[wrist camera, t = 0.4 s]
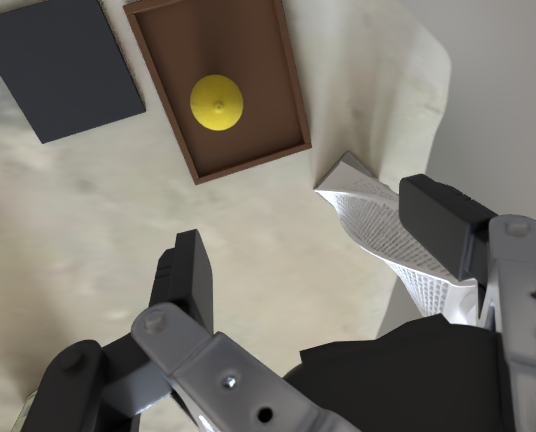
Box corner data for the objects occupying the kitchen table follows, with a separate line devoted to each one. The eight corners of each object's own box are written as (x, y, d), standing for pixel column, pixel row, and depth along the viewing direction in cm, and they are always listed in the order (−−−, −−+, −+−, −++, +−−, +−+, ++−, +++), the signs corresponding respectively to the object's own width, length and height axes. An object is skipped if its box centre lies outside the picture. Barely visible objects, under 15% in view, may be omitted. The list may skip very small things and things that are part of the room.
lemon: (197, 127, 38) (196, 141, 31) (186, 77, 36) (182, 80, 29) (242, 120, 39) (251, 131, 32) (234, 70, 36) (242, 71, 29)
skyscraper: (338, 223, 48) (486, 391, 23) (300, 192, 45) (425, 350, 20) (378, 180, 46) (586, 312, 21) (342, 145, 43) (537, 253, 18)
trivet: (-28, 23, 31) (-32, 23, 30) (93, -11, 31) (91, -13, 31) (44, 143, 36) (41, 144, 36) (146, 111, 37) (145, 112, 36)
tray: (125, 8, 32) (122, 5, 31) (270, -34, 33) (273, -39, 32) (195, 181, 41) (195, 185, 40) (308, 145, 42) (312, 147, 41)
